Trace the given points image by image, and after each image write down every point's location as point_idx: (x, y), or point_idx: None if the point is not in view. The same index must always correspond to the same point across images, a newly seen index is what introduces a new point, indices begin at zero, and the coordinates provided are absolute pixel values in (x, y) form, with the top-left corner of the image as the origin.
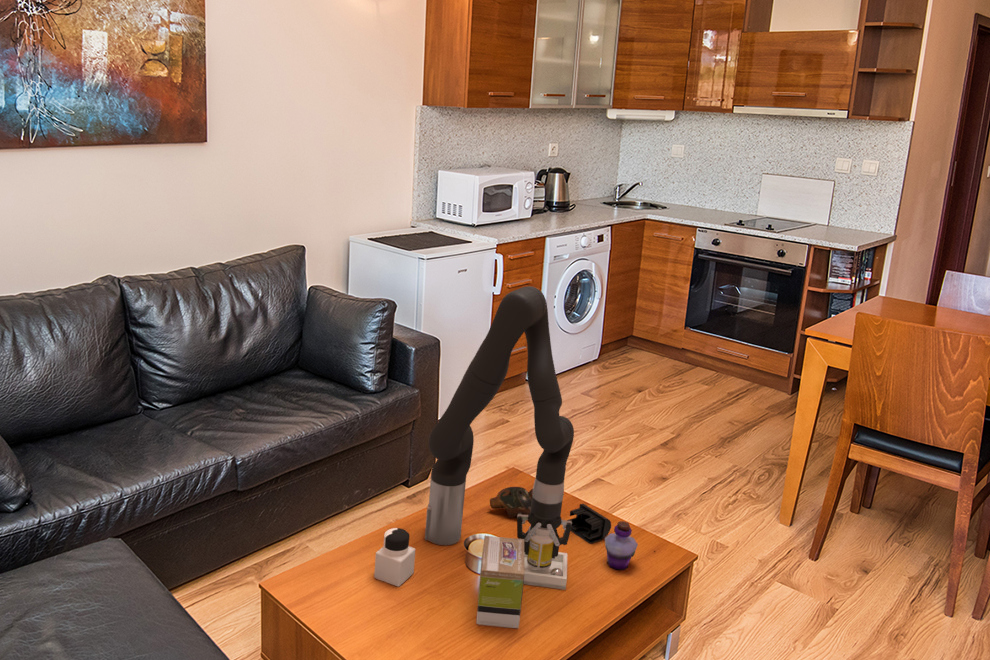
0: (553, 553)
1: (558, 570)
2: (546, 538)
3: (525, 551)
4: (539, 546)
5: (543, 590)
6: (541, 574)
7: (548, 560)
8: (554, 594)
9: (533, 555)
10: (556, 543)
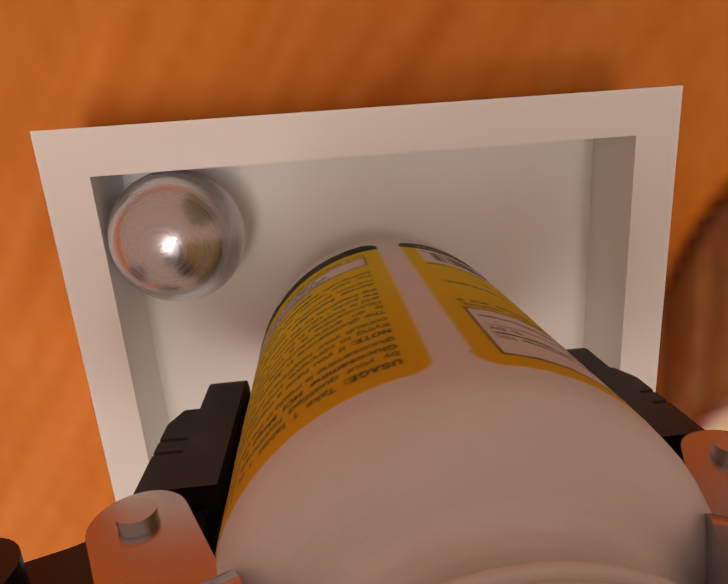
0: (225, 412)
1: (144, 226)
2: (378, 521)
3: (601, 362)
4: (477, 340)
5: (289, 56)
6: (336, 137)
7: (283, 317)
8: (174, 17)
9: (496, 293)
10: (152, 525)
